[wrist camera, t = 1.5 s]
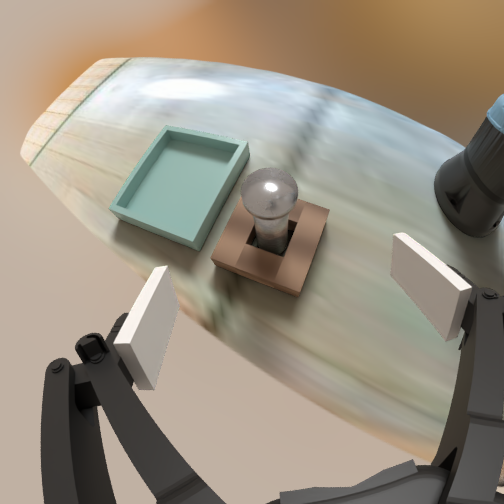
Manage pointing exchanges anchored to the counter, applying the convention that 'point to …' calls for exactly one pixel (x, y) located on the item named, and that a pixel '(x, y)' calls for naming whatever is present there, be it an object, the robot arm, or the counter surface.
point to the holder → (265, 263)
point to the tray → (181, 184)
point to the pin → (270, 206)
